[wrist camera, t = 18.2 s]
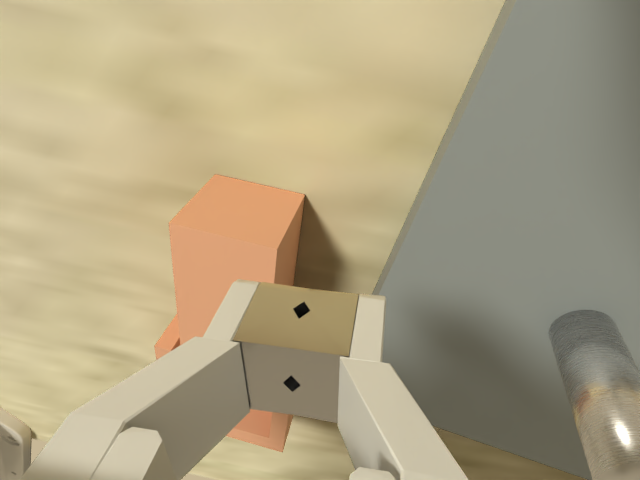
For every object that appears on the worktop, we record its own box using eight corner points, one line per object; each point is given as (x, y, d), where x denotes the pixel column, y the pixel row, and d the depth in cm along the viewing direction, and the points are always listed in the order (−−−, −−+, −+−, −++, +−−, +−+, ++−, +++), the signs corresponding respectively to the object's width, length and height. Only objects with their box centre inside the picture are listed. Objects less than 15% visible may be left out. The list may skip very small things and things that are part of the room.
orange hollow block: (301, 388, 25) (282, 452, 22) (198, 360, 26) (165, 418, 23) (335, 201, 18) (313, 258, 14) (186, 167, 18) (134, 214, 15)
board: (596, 458, 23) (606, 485, 22) (338, 368, 24) (333, 391, 22) (1176, 35, 10) (1277, 46, 9) (573, -148, 11) (591, -160, 9)
